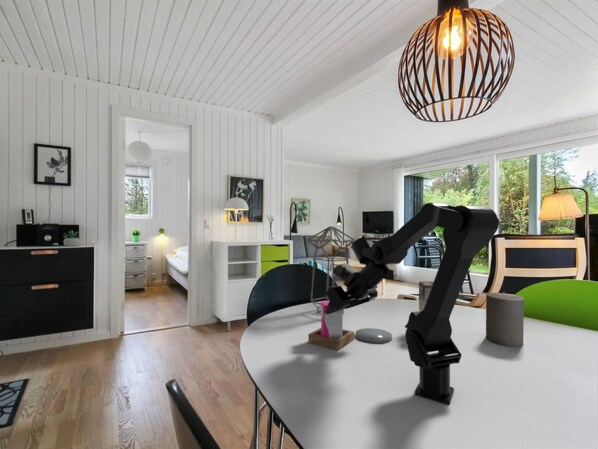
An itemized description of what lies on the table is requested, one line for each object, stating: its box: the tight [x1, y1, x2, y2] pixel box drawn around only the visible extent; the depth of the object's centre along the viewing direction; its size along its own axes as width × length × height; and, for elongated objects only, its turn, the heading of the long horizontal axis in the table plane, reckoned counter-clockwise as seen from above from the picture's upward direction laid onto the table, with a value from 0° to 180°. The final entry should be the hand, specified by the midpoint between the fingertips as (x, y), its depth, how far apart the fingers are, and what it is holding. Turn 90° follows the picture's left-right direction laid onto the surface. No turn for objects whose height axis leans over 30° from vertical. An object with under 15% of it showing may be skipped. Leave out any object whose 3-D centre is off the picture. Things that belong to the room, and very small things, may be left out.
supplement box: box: [320, 300, 343, 339], centre depth 91 cm, size 6×6×12 cm
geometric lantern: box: [306, 226, 357, 315], centre depth 123 cm, size 16×16×35 cm
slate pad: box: [355, 327, 393, 344], centre depth 95 cm, size 11×11×1 cm
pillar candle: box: [485, 291, 525, 348], centre depth 93 cm, size 10×10×15 cm
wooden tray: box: [307, 327, 355, 351], centre depth 91 cm, size 10×10×2 cm
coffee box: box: [418, 281, 434, 311], centre depth 100 cm, size 9×6×16 cm
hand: (336, 310), depth 90 cm, fingers open, 9 cm apart
